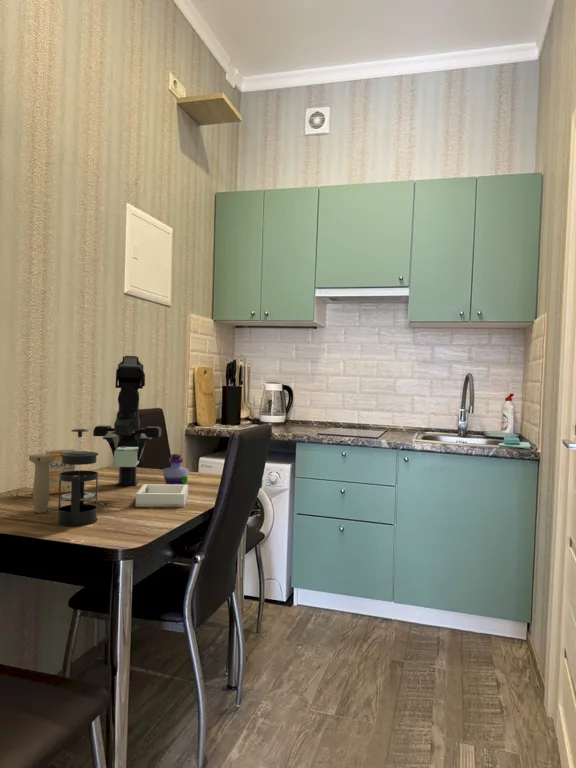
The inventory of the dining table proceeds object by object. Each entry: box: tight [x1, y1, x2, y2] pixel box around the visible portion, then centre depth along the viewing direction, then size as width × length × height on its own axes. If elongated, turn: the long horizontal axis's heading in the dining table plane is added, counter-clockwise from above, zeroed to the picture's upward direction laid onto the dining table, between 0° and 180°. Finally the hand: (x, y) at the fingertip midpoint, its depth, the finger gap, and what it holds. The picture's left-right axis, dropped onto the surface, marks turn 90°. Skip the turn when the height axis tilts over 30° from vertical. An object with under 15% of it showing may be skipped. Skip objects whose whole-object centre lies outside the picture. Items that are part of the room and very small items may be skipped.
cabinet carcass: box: [135, 483, 189, 508], centre depth 162 cm, size 14×13×4 cm
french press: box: [56, 428, 99, 527], centre depth 137 cm, size 12×9×23 cm
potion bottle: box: [162, 453, 190, 485], centre depth 178 cm, size 9×9×12 cm
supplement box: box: [45, 449, 76, 495], centre depth 171 cm, size 8×5×13 cm, turn 123°
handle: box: [28, 453, 56, 514], centre depth 145 cm, size 5×6×15 cm
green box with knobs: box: [113, 447, 139, 468], centre depth 163 cm, size 10×6×5 cm, turn 9°
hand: (127, 460), depth 163 cm, fingers closed on green box with knobs, 6 cm apart
